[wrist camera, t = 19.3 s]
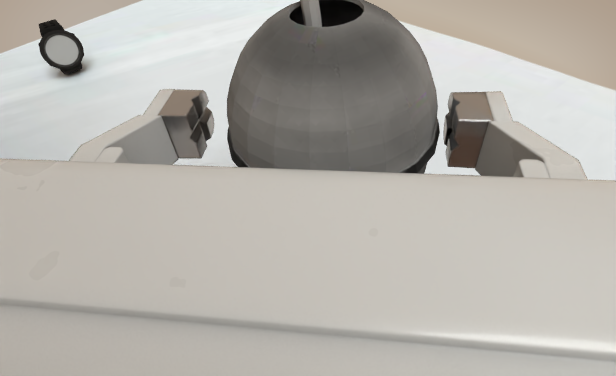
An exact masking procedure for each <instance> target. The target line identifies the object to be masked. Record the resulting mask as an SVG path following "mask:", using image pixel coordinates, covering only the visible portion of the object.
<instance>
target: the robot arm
mask: <svg viewBox="0 0 616 376" xmlns="http://www.w3.org/2000/svg"><path fill="white" fill-rule="evenodd" d="M208 102H209V100H208V97H207V94H206V92H205V91H203V90H180V89H177V90H175V89H163V90H160V91H159V92H158V94H157V95H156V97H155V98H154V100H153V101H152V103H151V104H150V105H149V107H148V108H147V110H146V111H145V113H144V114H143V115H138V116H136V117H134V118H132V119H130V120H128V121H126V122H125V123H123V124H121V125H119V126H117V127H115V128H113V129H111V130H109V131H107V132H105V133H103V134H102V135H100V136H98V137H96V138H94V139H92V140H90V141H88V142H86V143H84V144H82V145H81V146H80V147H79V148H78V150H77V151H76V152H75V153H74V155H73V156H72V157H71V158H70V160H69V161H52V160H24V159H0V376H616V181H613V180H588V179H587V177H586V175H585V173H584V171H583V169H582V166H581V164H580V162H579V160H577V159H576V158H574V157H573V156H571V155H570V154H568V153H566V152H565V151H563V150H562V149H560V148H559V147H557V146H555V145H554V144H552V143H551V142H549V141H548V140H546V139H544V138H543V137H541V136H540V135H538V134H537V133H535V132H533V131H532V130H530V129H529V128H527V127H526V126H524V125H522V124H521V123H519V122H513V120H512V117H511V114H510V111H509V109H508V106H507V103H506V100H505V98H504V95H503V93H502V92H501V91H499V92H455V93H450V96H449V101H448V108H449V113H448V114H447V115H446V116H445V122H444V131H443V136H444V144H445V145H446V146H447V149H446V158H447V164H448V167H463V168H475V170H476V171H477V172H478V173H479V174H480V175H481V176H474V175H446V174H417V173H389V172H361V171H332V170H304V169H276V168H248V167H220V166H192V165H172V164H174V163H175V162H176V161H177V160H178V158H202V156H203V154H204V152H205V150H206V148H207V144H206V141H207V140H208V139H210V138H211V137H212V134H213V131H214V118H213V114H212V112H211V111H210V110H209V109H208V108H207V107H206V106H207V104H208Z"/></svg>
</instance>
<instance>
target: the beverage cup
mask: <svg viewBox="0 0 616 376" xmlns="http://www.w3.org/2000/svg"><path fill="white" fill-rule="evenodd" d="M437 108H438V105H437V95H436V89H435V85H434V82H433V78H432V75H431V71H430V68H429V65H428V62H427V59H426V57H425V55H424V53H423V51H422V49H421V47H420V45H419V43H418V42H417V41H416V39H415V38H414V37H413V35H412V34H411V33H410V32H409V31H408V30H407V29H406V28H405V27H404V26H403V25H402V24H401V23H400V22H399V21H398V20H397V19H395V18H394V17H393V16H392V15H391V14H390V13H388V12H387V11H385V10H383V9H381V8H379V7H377V6H375V5H373V4H371V3H369V2H367V1H364V0H300V1H299V2H297V3H294V4H291V5H289V6H287V7H285V8H284V9H282V10H280V11H279V12H277V13H276V14H274V15H273V16H272V17H270V18H269V19H268V20H267V21H266V22H265V23H264V24H263V25H262V26H261V27H260V28H259V29H258V30H257V31H256V32H255V33H254V35H253V36H252V37H251V38H250V39H249V40H248V42H247V43H246V45H245V47H244V48H243V50H242V52H241V53H240V56H239V59H238V61H237V64H236V67H235V70H234V73H233V76H232V79H231V82H230V87H229V92H228V98H227V117H228V123H229V128H228V136H227V140H228V144H229V149H230V153H231V158H232V160H233V162H234V163H235V164H236V165H237V166H238V167H248V168H276V169H304V170H332V171H361V172H389V173H417V174H424V172H425V169H426V165H427V162H428V161H429V160H430V158H431V157H432V156H433V155H434V154H435V149H436V145H437V141H438V137H439V133H440V130H439V123H438V119H437Z"/></svg>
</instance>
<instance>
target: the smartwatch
mask: <svg viewBox="0 0 616 376" xmlns="http://www.w3.org/2000/svg"><path fill="white" fill-rule="evenodd" d="M39 28H40V33H41V36H42V39H41V41H40V43H39V47H40V52H41V55H42V57H43V58H44V60H45V61H46V62H47V63H48V64H49V65H50V66H53V67H55V68H58V69H60V70H61V71H62V72H63V73H64V74H68V73H71V72H74V71H77V70H80V69H81V68H82V64H81V61H82V58H83V56H84V52H83V46H82V44H81V42H80V41H79V39H78V38H77V37H76V36H75V35H74V34H73V33H69V32H67V31H65V30H64V29H63V27H62V26H61V25H60V24H59V23H58V22H57V21H56V20H51V21H47V22H44V23H40V24H39Z"/></svg>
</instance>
